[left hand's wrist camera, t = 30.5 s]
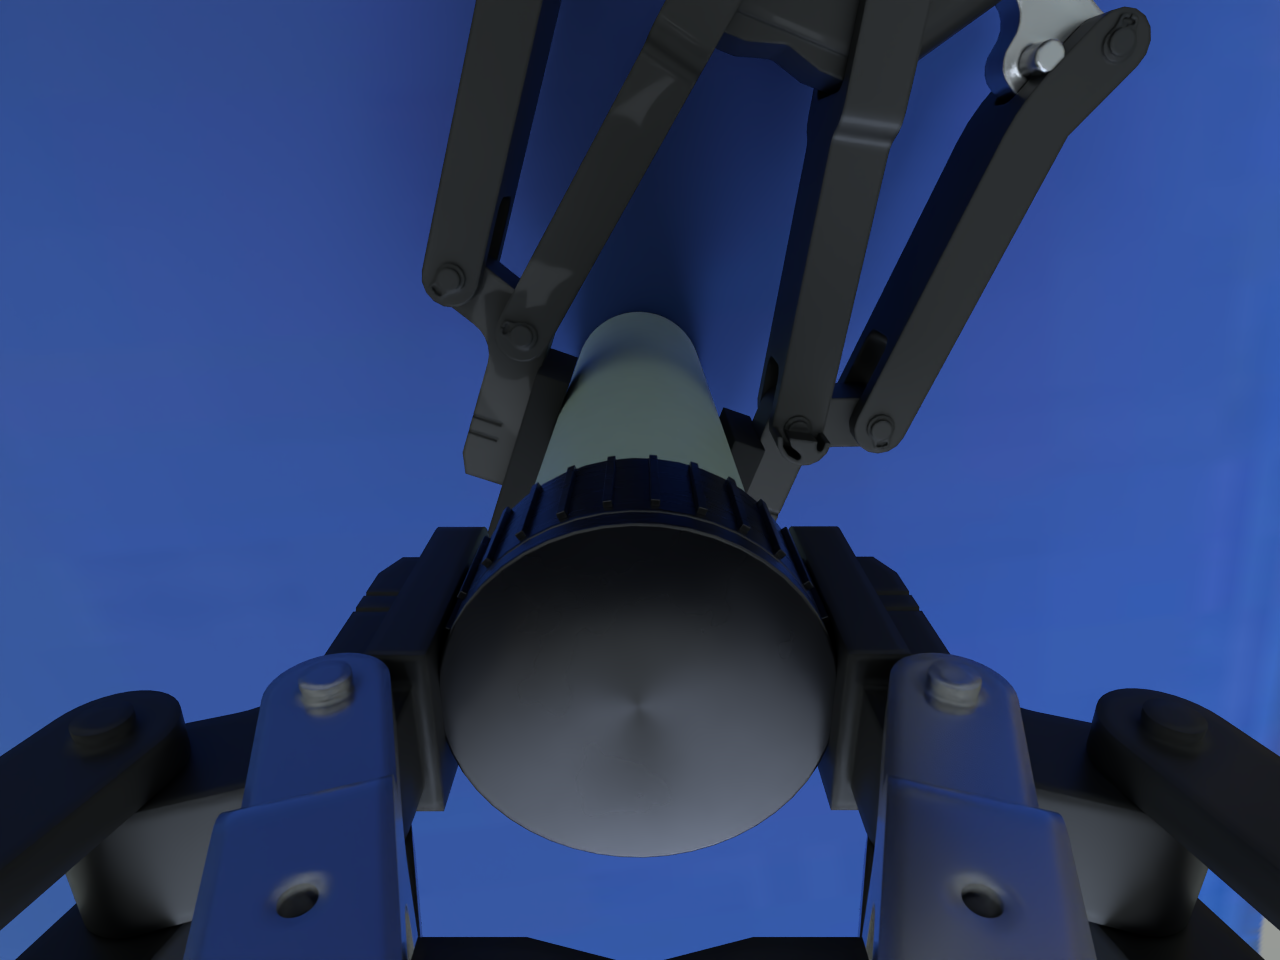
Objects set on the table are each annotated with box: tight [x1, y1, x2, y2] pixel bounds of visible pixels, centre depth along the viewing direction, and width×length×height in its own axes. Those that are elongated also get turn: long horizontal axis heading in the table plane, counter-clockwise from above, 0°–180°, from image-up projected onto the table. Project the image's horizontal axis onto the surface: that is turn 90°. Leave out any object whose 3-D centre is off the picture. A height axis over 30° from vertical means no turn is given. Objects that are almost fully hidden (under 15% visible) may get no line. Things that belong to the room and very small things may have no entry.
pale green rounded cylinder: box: [535, 312, 744, 491], centre depth 17 cm, size 4×4×16 cm
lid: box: [438, 455, 837, 857], centre depth 10 cm, size 5×5×2 cm
